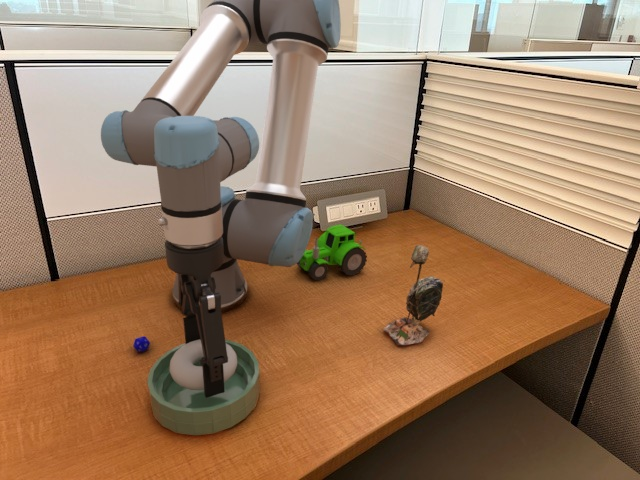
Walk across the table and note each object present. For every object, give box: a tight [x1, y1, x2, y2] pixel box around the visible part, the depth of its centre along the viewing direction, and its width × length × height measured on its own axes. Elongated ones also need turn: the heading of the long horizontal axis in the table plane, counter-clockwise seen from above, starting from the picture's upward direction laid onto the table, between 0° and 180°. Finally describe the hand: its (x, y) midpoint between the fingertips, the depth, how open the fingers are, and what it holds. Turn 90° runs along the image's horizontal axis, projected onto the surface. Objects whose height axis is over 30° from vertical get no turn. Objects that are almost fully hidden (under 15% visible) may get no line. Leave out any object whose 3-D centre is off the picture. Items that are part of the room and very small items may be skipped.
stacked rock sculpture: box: [382, 244, 446, 346], centre depth 88 cm, size 8×11×20 cm
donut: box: [169, 339, 237, 390], centre depth 72 cm, size 10×4×10 cm
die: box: [132, 335, 151, 354], centre depth 84 cm, size 3×3×3 cm
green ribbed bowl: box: [146, 339, 261, 436], centre depth 74 cm, size 16×16×5 cm
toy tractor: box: [296, 223, 368, 281], centre depth 112 cm, size 11×16×10 cm
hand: (204, 370), depth 73 cm, fingers closed on donut, 10 cm apart
